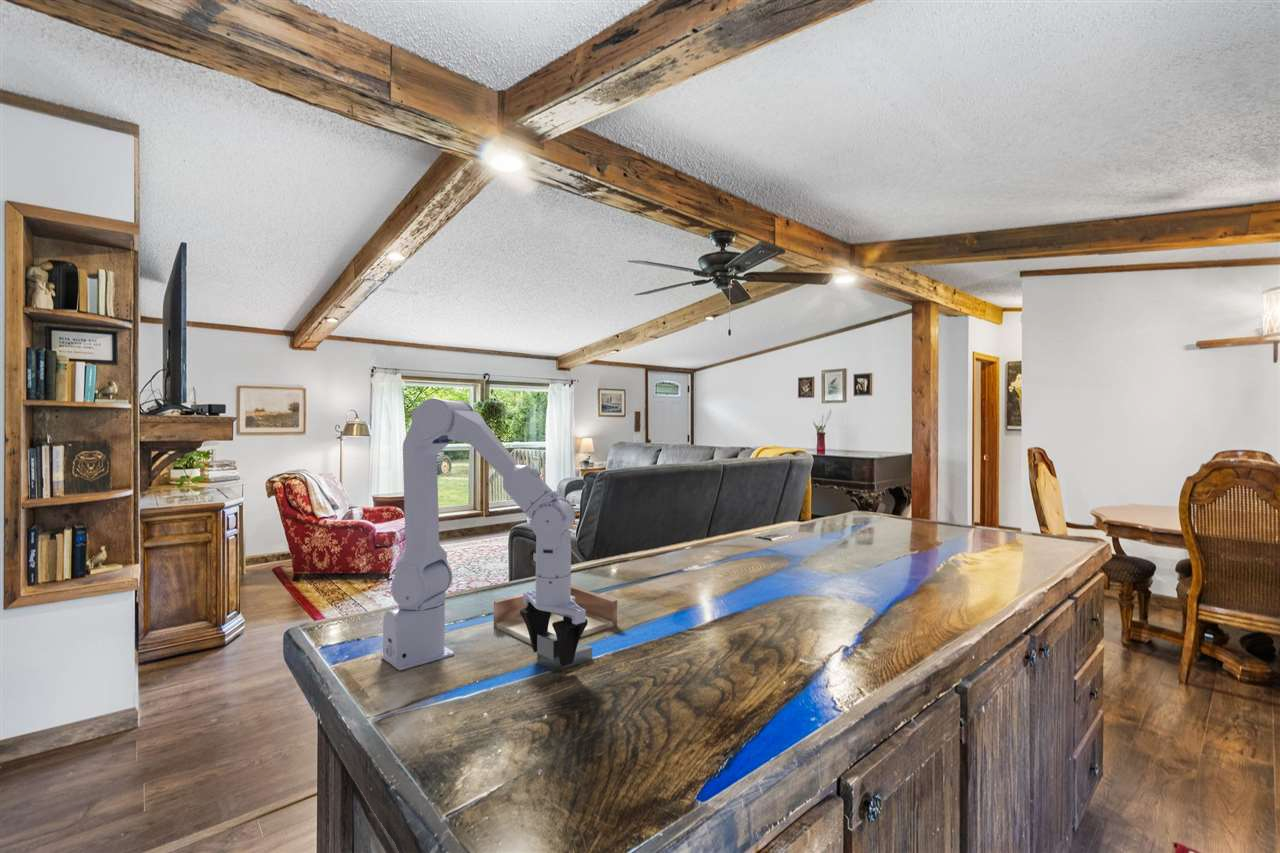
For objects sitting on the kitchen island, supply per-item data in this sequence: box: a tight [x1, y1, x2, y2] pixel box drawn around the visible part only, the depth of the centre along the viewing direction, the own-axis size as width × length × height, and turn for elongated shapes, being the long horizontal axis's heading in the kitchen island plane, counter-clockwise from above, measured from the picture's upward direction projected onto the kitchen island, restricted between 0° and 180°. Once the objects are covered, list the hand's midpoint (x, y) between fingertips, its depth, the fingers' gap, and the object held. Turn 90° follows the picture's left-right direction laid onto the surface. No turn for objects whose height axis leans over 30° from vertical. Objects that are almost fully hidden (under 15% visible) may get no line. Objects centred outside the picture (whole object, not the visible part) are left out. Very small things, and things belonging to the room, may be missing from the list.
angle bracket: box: [536, 631, 593, 673], centre depth 97 cm, size 8×4×5 cm, turn 134°
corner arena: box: [493, 584, 618, 646], centre depth 114 cm, size 18×16×5 cm
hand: (552, 656), depth 95 cm, fingers open, 7 cm apart
